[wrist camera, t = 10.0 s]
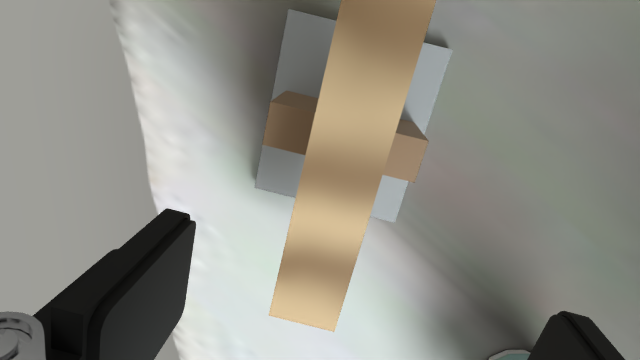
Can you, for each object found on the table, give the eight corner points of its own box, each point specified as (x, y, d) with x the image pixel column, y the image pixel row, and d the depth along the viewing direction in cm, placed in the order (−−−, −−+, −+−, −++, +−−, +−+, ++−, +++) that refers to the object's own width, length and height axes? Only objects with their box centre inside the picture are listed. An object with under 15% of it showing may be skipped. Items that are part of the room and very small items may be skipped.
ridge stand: (449, 49, 29) (477, 51, 22) (393, 217, 33) (403, 260, 27) (290, 9, 29) (271, -1, 22) (257, 183, 33) (233, 218, 27)
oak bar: (355, -41, 21) (356, -65, 16) (427, -23, 21) (449, -42, 16) (283, 269, 28) (268, 315, 23) (337, 283, 28) (334, 331, 23)
